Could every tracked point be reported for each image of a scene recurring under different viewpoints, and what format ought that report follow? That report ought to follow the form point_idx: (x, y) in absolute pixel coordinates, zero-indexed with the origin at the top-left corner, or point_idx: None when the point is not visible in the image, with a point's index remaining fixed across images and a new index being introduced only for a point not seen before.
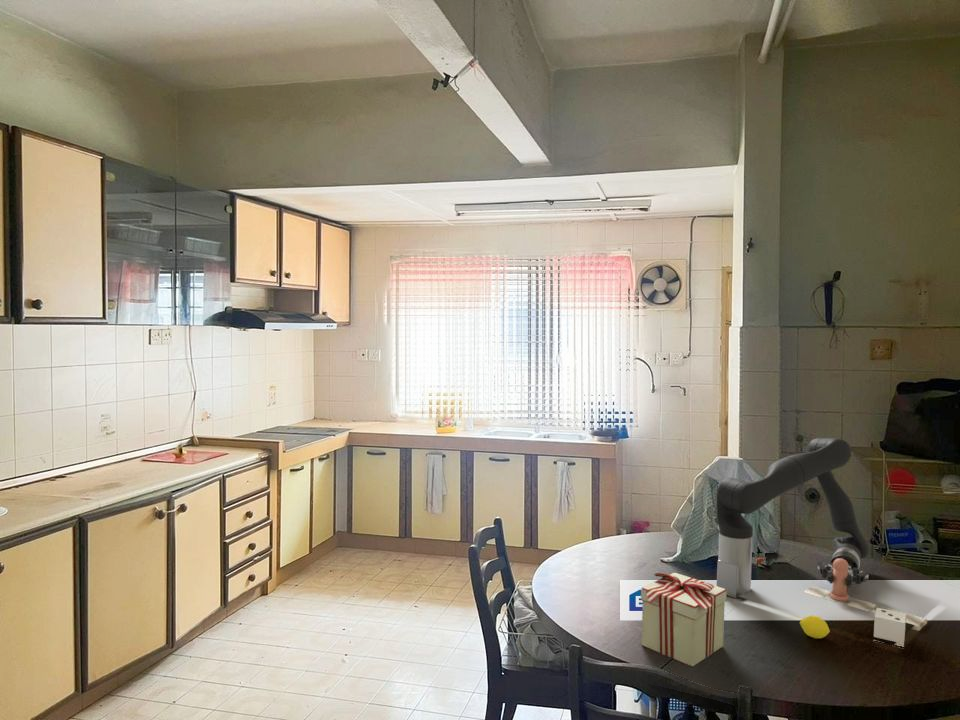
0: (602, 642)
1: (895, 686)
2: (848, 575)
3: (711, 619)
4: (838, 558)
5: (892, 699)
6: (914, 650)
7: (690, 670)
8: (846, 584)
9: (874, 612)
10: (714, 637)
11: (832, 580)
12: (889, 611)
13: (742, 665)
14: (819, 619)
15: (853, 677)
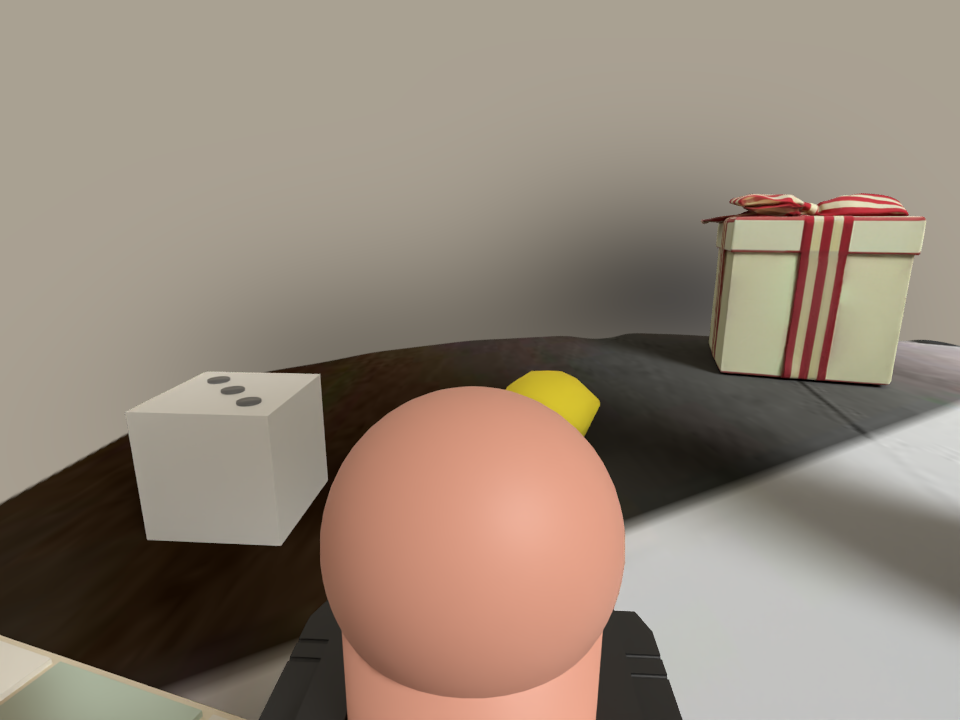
0: (898, 346)
1: (343, 373)
2: (327, 710)
3: (720, 272)
4: (527, 413)
5: (364, 356)
6: None
7: (703, 340)
8: None
9: (164, 713)
10: (719, 325)
11: None
12: (214, 406)
13: (642, 356)
14: (530, 372)
15: (428, 373)
